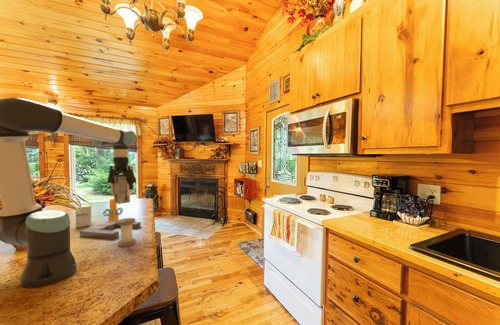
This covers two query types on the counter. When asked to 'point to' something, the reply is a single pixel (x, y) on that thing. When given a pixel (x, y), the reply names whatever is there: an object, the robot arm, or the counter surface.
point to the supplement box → (83, 216)
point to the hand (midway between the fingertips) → (121, 194)
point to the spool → (126, 232)
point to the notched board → (105, 230)
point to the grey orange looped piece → (113, 211)
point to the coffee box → (120, 189)
